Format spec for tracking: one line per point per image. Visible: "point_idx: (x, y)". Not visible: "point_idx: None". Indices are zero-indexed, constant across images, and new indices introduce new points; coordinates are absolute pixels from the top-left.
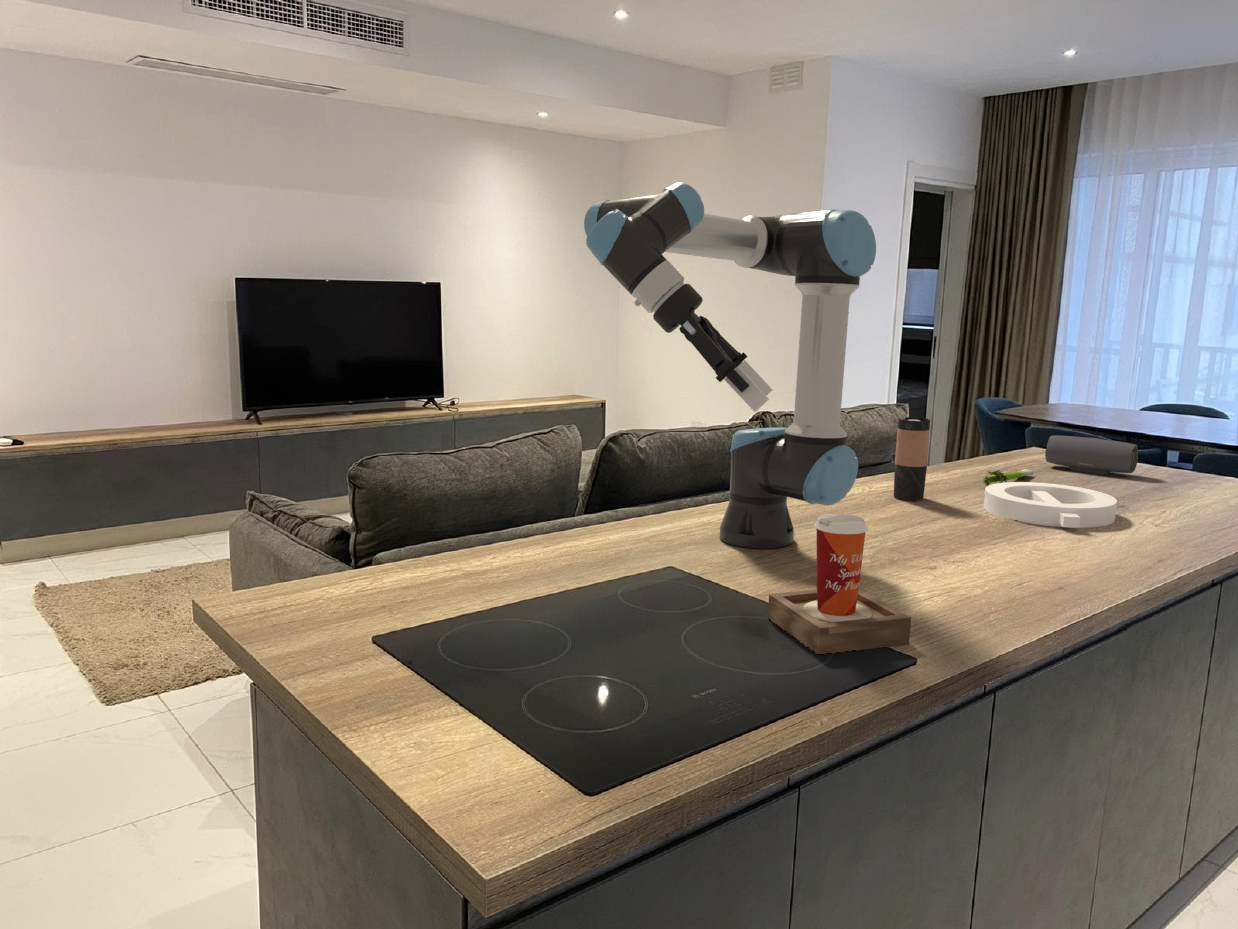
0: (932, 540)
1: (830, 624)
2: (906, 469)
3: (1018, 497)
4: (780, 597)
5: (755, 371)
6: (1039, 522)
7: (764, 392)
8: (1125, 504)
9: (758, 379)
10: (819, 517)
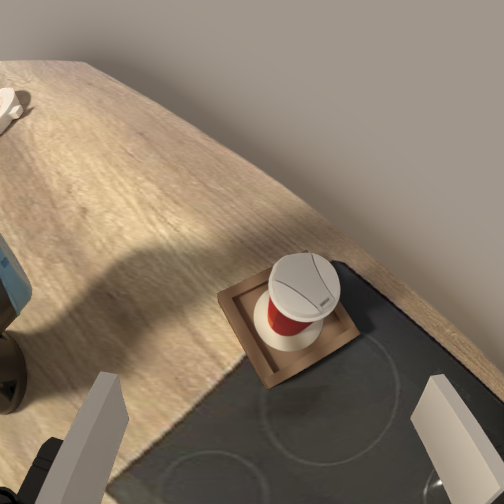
0: (14, 200)
1: (347, 324)
2: None
3: None
4: (278, 375)
5: (65, 445)
6: (3, 129)
7: (118, 404)
8: None
9: (97, 432)
10: (306, 312)
